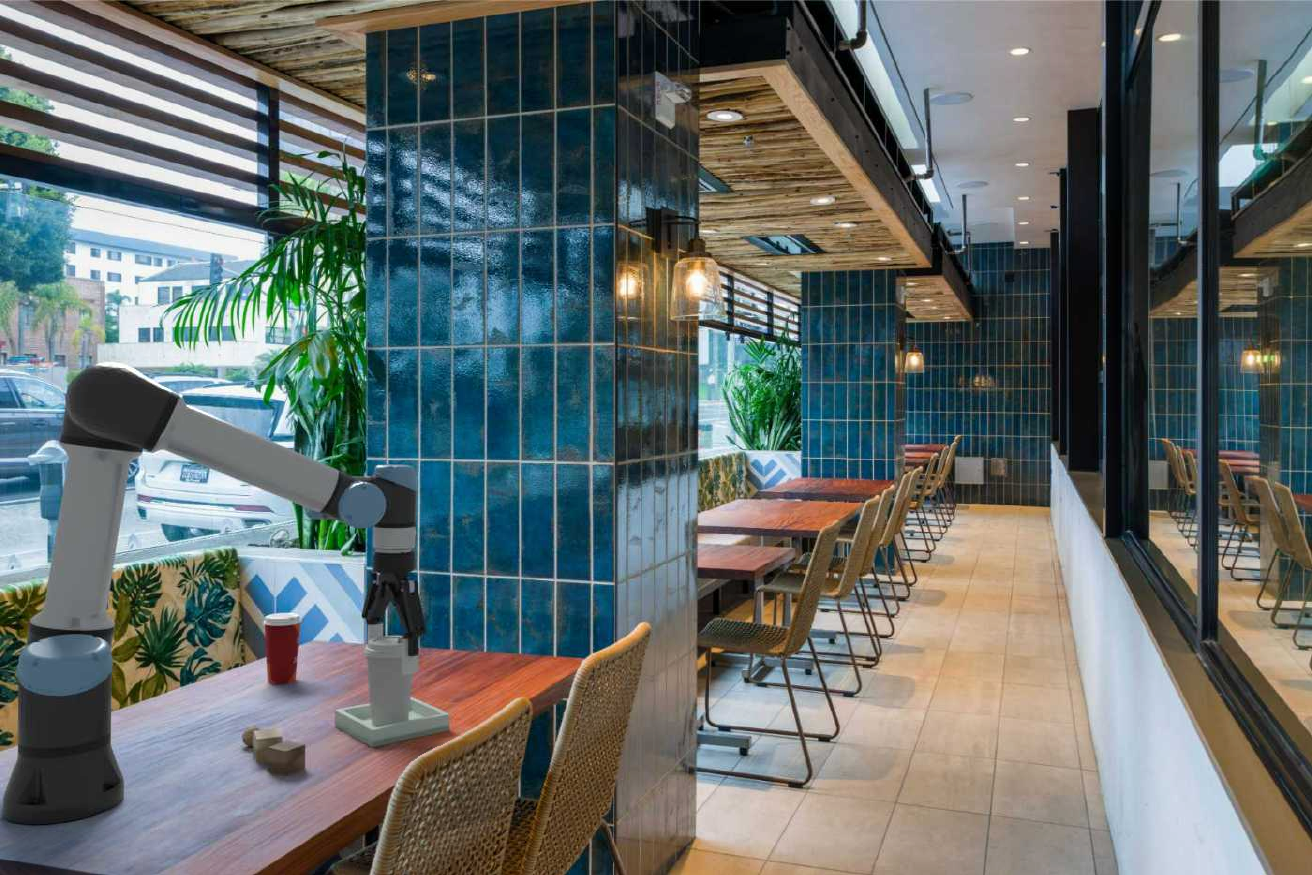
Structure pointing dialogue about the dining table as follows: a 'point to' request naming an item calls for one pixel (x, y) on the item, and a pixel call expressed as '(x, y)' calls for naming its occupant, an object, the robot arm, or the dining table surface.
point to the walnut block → (286, 758)
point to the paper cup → (282, 646)
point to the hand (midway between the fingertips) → (391, 666)
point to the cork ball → (249, 736)
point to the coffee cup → (387, 681)
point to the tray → (419, 724)
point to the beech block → (265, 743)
